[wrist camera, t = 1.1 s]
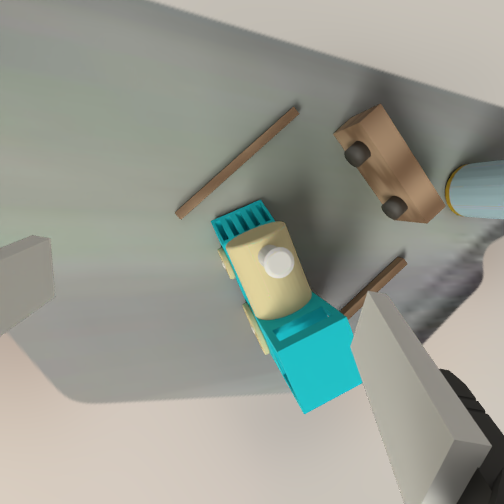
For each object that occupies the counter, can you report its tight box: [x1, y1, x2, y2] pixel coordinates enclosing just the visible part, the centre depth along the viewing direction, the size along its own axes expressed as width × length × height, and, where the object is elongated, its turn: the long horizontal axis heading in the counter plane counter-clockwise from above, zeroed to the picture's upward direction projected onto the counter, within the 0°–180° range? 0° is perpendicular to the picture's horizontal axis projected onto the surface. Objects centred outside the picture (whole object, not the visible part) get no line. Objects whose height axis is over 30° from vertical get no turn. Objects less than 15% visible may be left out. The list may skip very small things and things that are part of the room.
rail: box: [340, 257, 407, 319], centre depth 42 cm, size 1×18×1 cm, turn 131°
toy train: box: [211, 200, 363, 414], centre depth 32 cm, size 8×17×15 cm, turn 23°
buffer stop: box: [334, 103, 445, 223], centre depth 37 cm, size 14×5×6 cm, turn 41°
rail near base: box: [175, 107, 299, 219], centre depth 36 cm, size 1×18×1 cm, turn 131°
